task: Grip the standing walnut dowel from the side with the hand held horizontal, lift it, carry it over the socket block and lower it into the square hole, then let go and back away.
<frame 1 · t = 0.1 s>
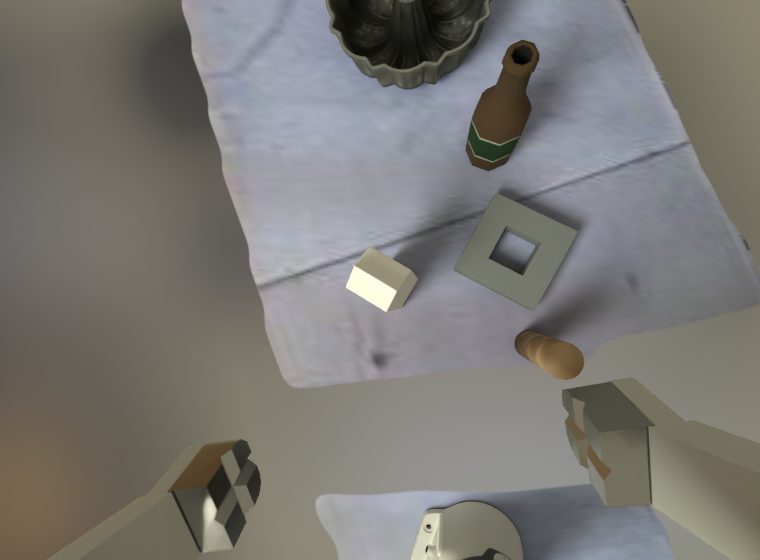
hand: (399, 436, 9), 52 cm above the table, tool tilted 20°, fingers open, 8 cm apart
bundt pan: (411, 37, 64), on the table
milk: (395, 285, 62), on the table
socket block: (510, 252, 59), on the table
beer bottle: (488, 150, 61), on the table
dowel: (528, 344, 58), on the table
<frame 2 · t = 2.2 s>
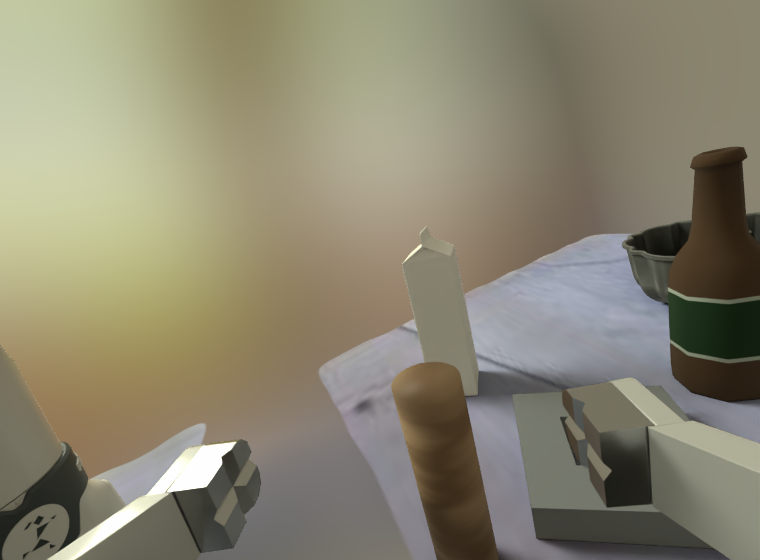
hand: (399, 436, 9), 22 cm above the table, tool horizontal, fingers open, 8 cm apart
bundt pan: (730, 295, 54), on the table
milk: (456, 384, 49), on the table
socket block: (608, 466, 31), on the table
beer bottle: (718, 382, 38), on the table
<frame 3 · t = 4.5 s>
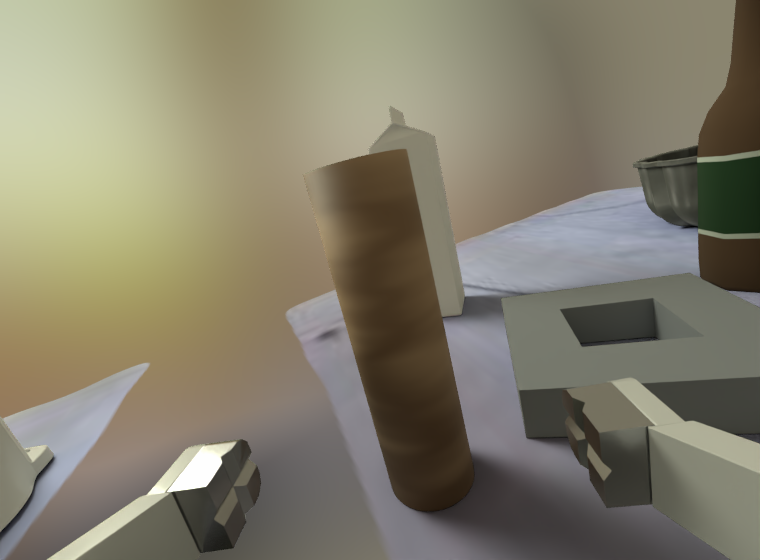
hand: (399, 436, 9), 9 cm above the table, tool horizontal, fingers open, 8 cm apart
milk: (438, 309, 41), on the table
socket block: (623, 361, 24), on the table
beer bottle: (759, 280, 30), on the table
dowel: (431, 473, 19), on the table
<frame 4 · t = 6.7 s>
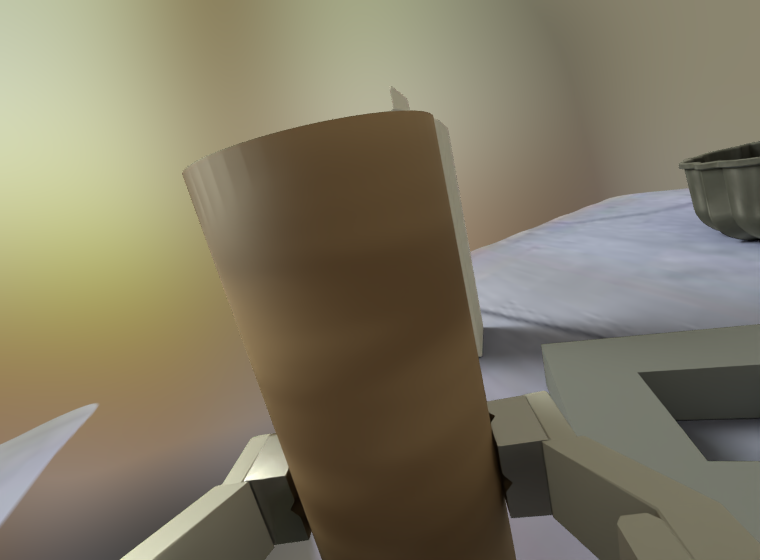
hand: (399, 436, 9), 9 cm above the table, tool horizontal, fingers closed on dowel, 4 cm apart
milk: (450, 345, 33), on the table
socket block: (750, 464, 15), on the table
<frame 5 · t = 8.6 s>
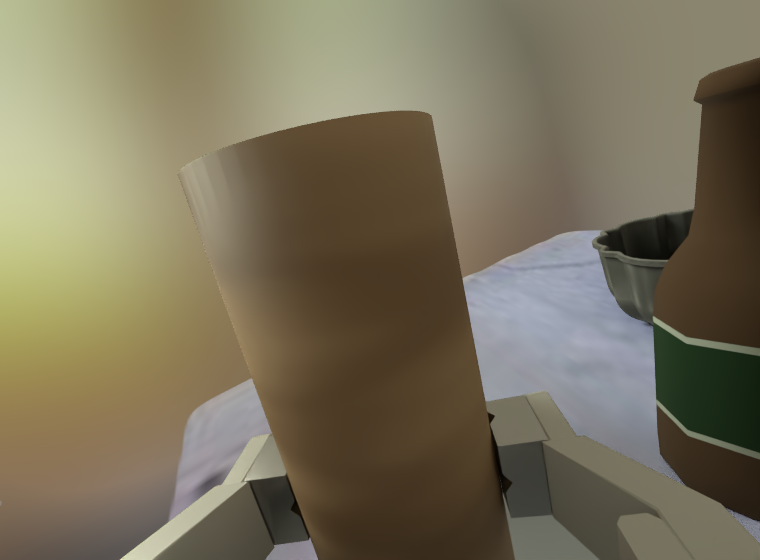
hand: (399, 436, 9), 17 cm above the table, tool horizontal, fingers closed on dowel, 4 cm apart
bundt pan: (735, 313, 40), on the table
beer bottle: (735, 473, 23), on the table
when the fingers open (10 cm above the table, at t = 10.6 s): dowel stays where it is, resting in socket block.
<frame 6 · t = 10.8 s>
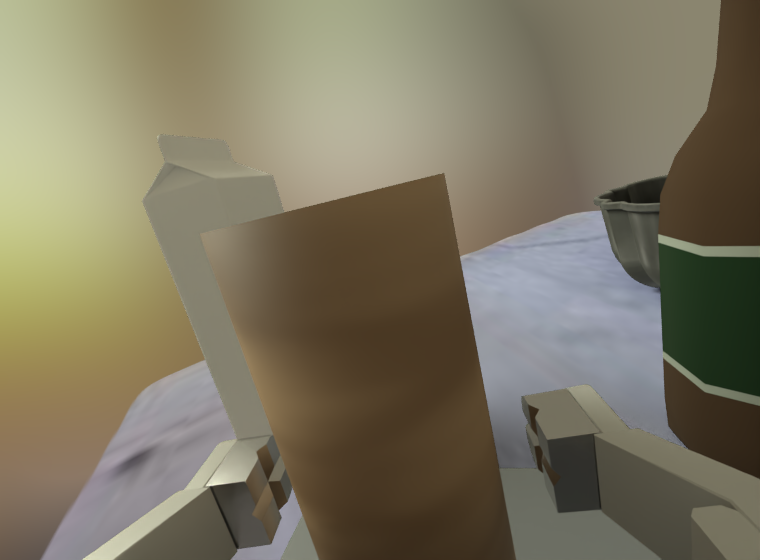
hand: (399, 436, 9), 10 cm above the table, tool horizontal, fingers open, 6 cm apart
milk: (295, 425, 28), on the table
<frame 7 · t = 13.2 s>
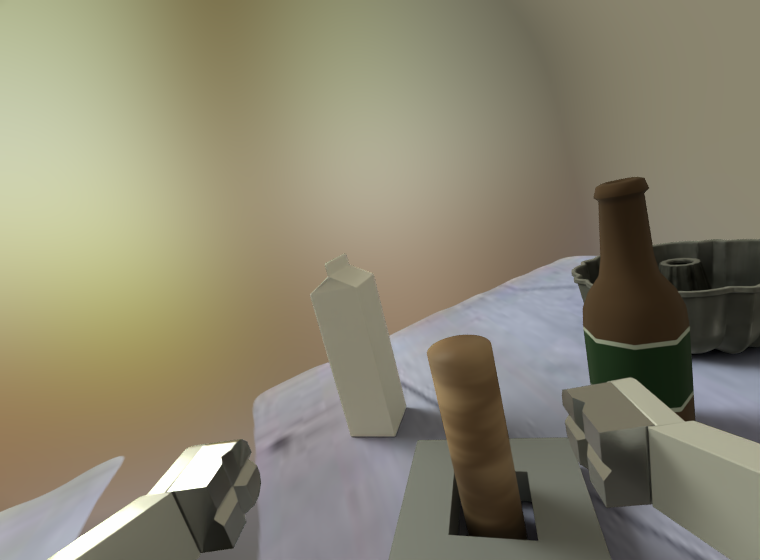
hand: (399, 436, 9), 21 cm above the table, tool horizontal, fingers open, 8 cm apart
bundt pan: (683, 328, 50), on the table
milk: (380, 422, 46), on the table
socket block: (496, 532, 28), on the table
beer bottle: (642, 432, 34), on the table
dowel: (497, 533, 28), resting in socket block
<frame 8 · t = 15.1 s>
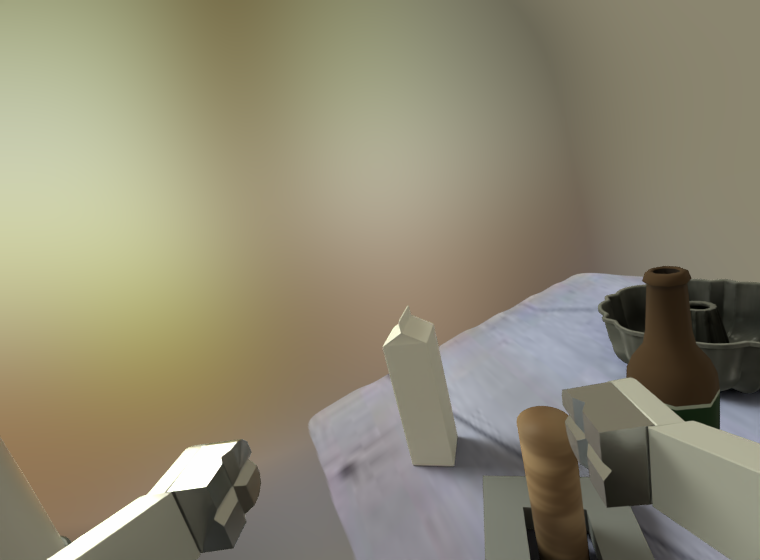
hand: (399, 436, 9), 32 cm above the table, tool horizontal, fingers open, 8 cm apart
bundt pan: (698, 362, 57), on the table
milk: (436, 451, 52), on the table
beer bottle: (673, 469, 41), on the table
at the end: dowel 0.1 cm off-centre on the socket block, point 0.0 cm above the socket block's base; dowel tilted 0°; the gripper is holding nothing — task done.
